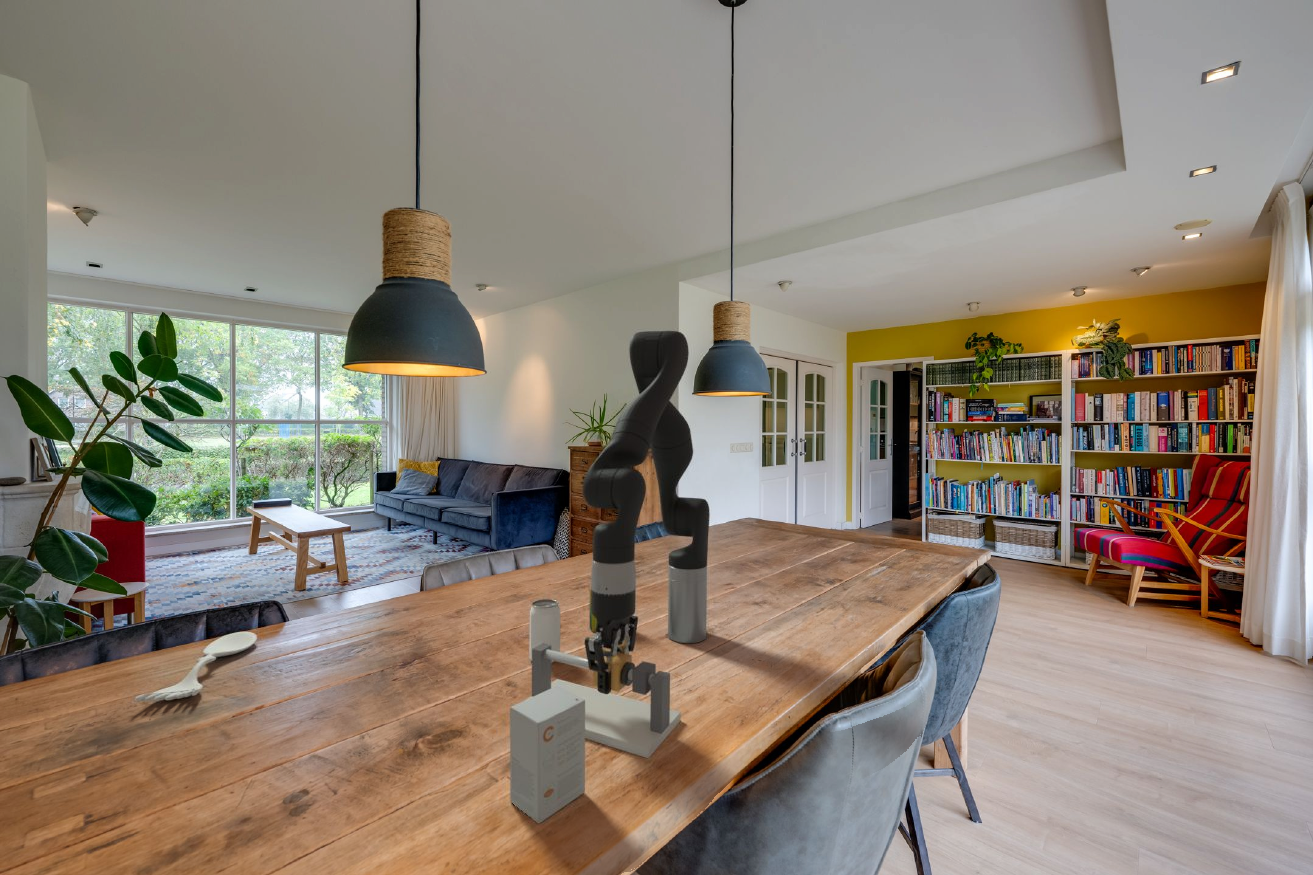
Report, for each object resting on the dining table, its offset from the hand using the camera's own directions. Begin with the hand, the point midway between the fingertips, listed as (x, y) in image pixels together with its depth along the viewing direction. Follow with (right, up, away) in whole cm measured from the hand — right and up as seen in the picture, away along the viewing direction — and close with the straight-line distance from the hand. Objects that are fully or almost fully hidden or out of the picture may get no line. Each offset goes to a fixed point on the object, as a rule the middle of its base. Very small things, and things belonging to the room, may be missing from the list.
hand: (612, 685), depth 92 cm
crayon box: (-5, -6, +43) cm, 44 cm away
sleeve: (0, +1, 0) cm, 1 cm away
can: (-17, -6, +25) cm, 31 cm away
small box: (-7, -7, -19) cm, 21 cm away
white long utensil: (-83, -5, +17) cm, 85 cm away
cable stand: (-3, -6, +1) cm, 7 cm away
